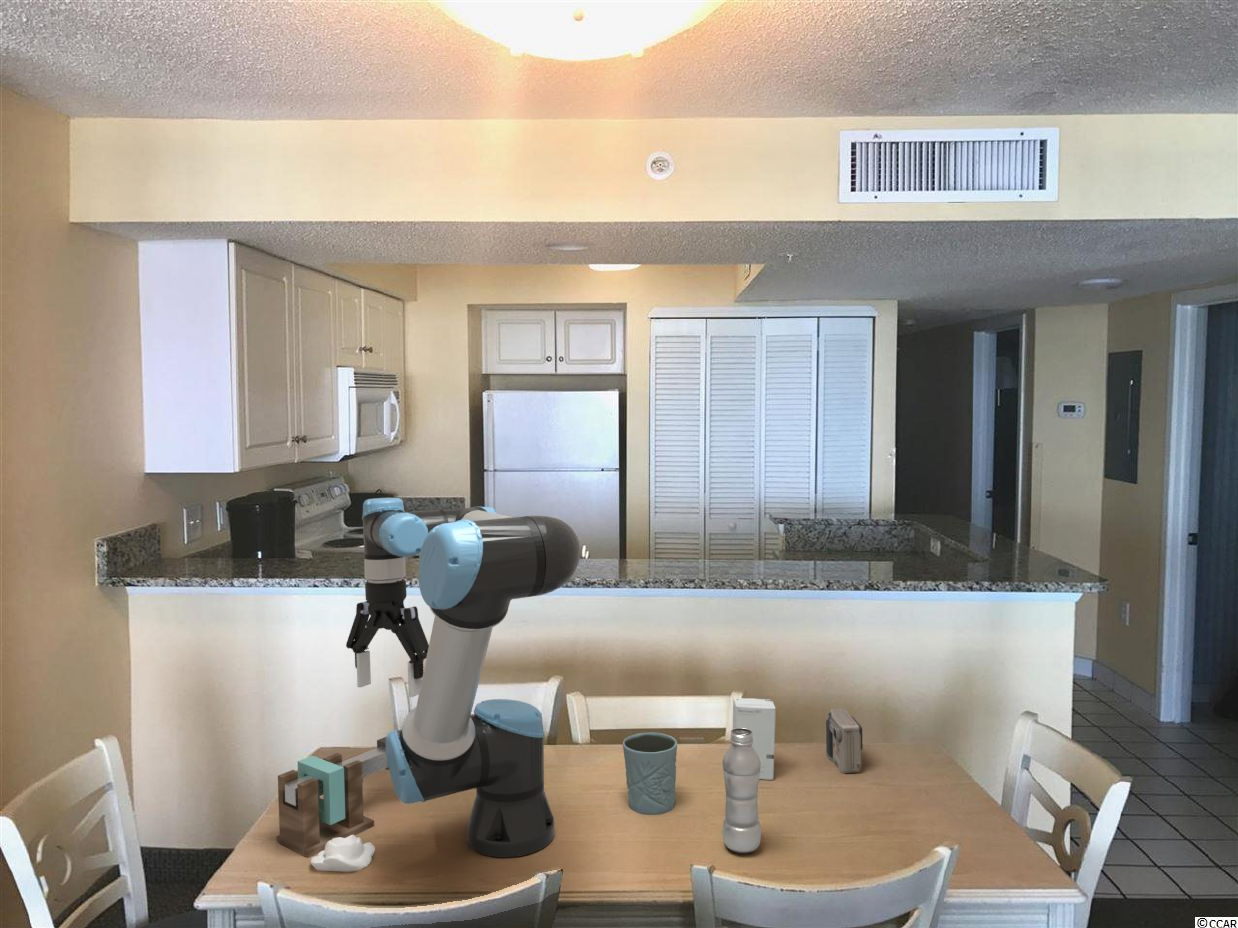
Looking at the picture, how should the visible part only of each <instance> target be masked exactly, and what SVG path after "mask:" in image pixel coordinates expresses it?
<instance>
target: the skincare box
mask: <svg viewBox="0 0 1238 928" xmlns="http://www.w3.org/2000/svg"><path fill="white" fill-rule="evenodd" d="M735 728H746V729H749V730H751V731H752V733H753V744H752V745H751V746H752V747H753V749H754V750H755V751H756V753H757V755H758V756H759V759H760V763H761V767H760V776H759V780H766V781H767V780H768V781H769V780H770V781H772V780H774V773H775V771H774V769H775V739H776V736H775V735H776V706H775V704H774V701H773V699H767V698H766V699H763V698H754V697H753V698H750V697H749V698H743V697H741V698H739V697H734V698H732V729H735Z"/></svg>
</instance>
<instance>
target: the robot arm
mask: <svg viewBox="0 0 1238 928" xmlns="http://www.w3.org/2000/svg"><path fill="white" fill-rule="evenodd" d="M361 520H362V527H363V528H362V530H363V550H364V551H363V553H364V560H363V561H364V579H365V580H367V581H366V582H365V583H364V589H365V592H364V593H365V600H366V601H362V602H357V604H356V608H355V609H356V610H355V616H354V619H353V622H352V625H351V629H350V632H349V634H348V637H347V641H346V645H345V646H346V648H347V649H351V650H352V652H353V653H354V662H355V663H354V664H355V665H354V666H355V669H356V685H357V686H356V687H357V688H364V687H365V686H368V685H372V681H371V679H372V677H371V652H370V650H369V646H370V643H371V642H372V641H373V638H375V635H377V633H378V631H379V630H381V629H385V630H386V631H387V630H388V631H390V632H391V633H393V634H395V636H396V637H397V639H398V641H399V642H400V644H401V645H402V647H403V649H404V651H405V652H406V654H407V656H408V657H409V659H410V660H409V661H407V681H408V682H407V684H408V685H407V686H408V687H407V688H408V698H414V697H416V696H418V697H417V702H416V706H415V707H414V708H412V709H411V710H410V711H409V712H408V713H407V714H406V715H405V718H404V719H403V723H402V727H401V729H394V730H393V731H390V732H388V733H387V735H386V736H385V737H386V755H387V761H388V767H389V770H388V771H389V775H390V779H391V783H392V786H393V789H394V791H395V794H396V796H397V798H398V800H399V801H401V802H402V803H403V804H406V805H407V804H409V805H410V804H414V803H419V802H422V803H425V802H426V801H430V800H434V799H437V798H442V797H446V796H450V795H455V794H458V793H463V792H467V791H469V790H475V789H476V791H475V792H476V794H475V798H474V802H473V804H472V805H473V806H472V808H471V812H470V815H469V818H468V821H467V826H466V841H467V844H468V845H469V847H470V848H471V849H472V850H474V851H475V852H477V853H479V854H482V855H485V856H489V857H494V858H496V857H498V858H517V857H521V856H526V855H531V854H533V853H536V852H539V851H540V850H542V849H544V848H545V847H547V846H548V845H549V844H550V843H551V842H552V841H553V839H554V837H555V834H556V833H555V831H556V829H555V824H556V823H555V818H554V814H553V811H552V809H551V807H550V803H549V800H548V798H547V794H546V791H545V781H544V780H545V771H544V769H545V768H544V767H545V766H544V765H545V764H544V763H545V762H544V761H545V760H544V758H545V755H544V754H545V753H544V752H545V751H544V747H545V746H544V744H545V742H544V737H545V731H544V725H543V724H544V723H543V715H542V712H541V711H540V710H539V709H538V708H537V707H536V706H534V705H532V704H530V703H527V702H525V701H520V700H515V699H506V698H504V699H503V698H496V699H495V698H494V699H492V698H491V699H487V700H483V701H480V702H478V703H476V705H475V707H474V703H475V700H476V694H477V691H478V688H479V683H480V679H481V675H482V672H483V671H482V670H483V669H484V668H483V667H484V664H485V659H486V657H487V651H488V648H489V643H490V640H491V636H492V631H493V628H494V627H496V626H498V625H499V624H500V623H502V622H503V620H504V619H505V618H506V616H507V614H508V612H509V608H510V604H511V601H512V600H516V599H522V598H523V599H526V598H532V597H538V596H539V597H540V596H543V595H547V594H549V593H552V592H554V591H556V590H558V589H560V588H562V586H564V585H565V584H566V583H567V582H568V581H569V580H571V578H572V577H573V575H574V573H575V572H576V570H577V568H578V566H579V564H580V559H581V544H580V540H579V538H578V536H577V534H576V532H575V531H574V529H573V528H572V527H571V526H570V525H569V524H568V523H567V522H565V521H563V520H561V519H559V518H556V517H552V516H546V515H526V516H515V517H514V516H510V515H505V514H499V513H498V512H497V511H496V509H495V508H494V507H491V506H472V507H462V508H450V509H449V508H448V509H430V510H429V509H428V510H417V511H415V510H414V511H405V508H404V501H403V499H401V498H398V497H379V498H378V497H377V498H367V499H365V500H364V502H363V503H362V517H361ZM417 554H419V557H418V558H419V559H418V565H417V566H418V567H419V572H418V574H417V576H418V577H417V581H418V587H419V592H420V595H421V597H422V600H423V601H424V603H425V604H426V605H427V606H428V608H429V609H430V611H431V613H432V614H433V615H434V619H433V624H432V629H431V634H430V639H429V642H428V639H427V637H426V635H425V631H424V628H423V627H422V624H421V621H420V619H419V610H418V607H417V606H415V605H413V606H411V607H405V605H404V604H405V603H404V601H405V600H406V598H407V581H406V579H405V577H406V575H407V574H406V558H408V557H413V556H417ZM424 661H425V663H424ZM473 708H474V709H473ZM472 711H473V714H474V715H471V714H472Z"/></svg>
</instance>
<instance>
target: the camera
mask: <svg viewBox="0 0 1238 928" xmlns="http://www.w3.org/2000/svg"><path fill="white" fill-rule="evenodd" d="M827 714H828V715H827V716H826V719H825V730H826V731H825V739H826V740H825V741H826V743H825V744H826V756H827V758H828V759H829V761H833V763H834V765H835V766H836V767H837V768H838V770H839V772H841V773H842V774H849V773H851V774H852V773H859V772H861V767H862V750H863V745H864V744H863V727H862V725H861V724H860V723H859V722H858V721H857V720H856V719H855V717H853V716H851V715H850V714H849V712H848V711H847V710H846V709H845V708H840V707H839V708H831V709H830V711H829V713H827Z"/></svg>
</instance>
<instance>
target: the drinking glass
mask: <svg viewBox="0 0 1238 928" xmlns="http://www.w3.org/2000/svg"><path fill="white" fill-rule="evenodd" d="M622 749H623V757H624V758H623V759H624V766H625V777H626V785H627V789H628V790H627V799H628V805H629V807H630V809H631V810H632V811H634V812H636V813H638V814H642V815H647V816H648V815H650V816H655V815H661V814H665V813H668V812H670V811H671V810H672V809H674V807H675V801H676V797H675V796H676V775H677V766H676V763H677V754H678V753H677V752H678V750H677V749H678V742H677V739H676V738H674V736H671V735H669V734H667V733H666V734H665V733H663V732H662V733H660V732H652V731H651V732H639V733H635V734H632V735H629V736H627V737H625V738H624V740H623V741H622Z"/></svg>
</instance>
